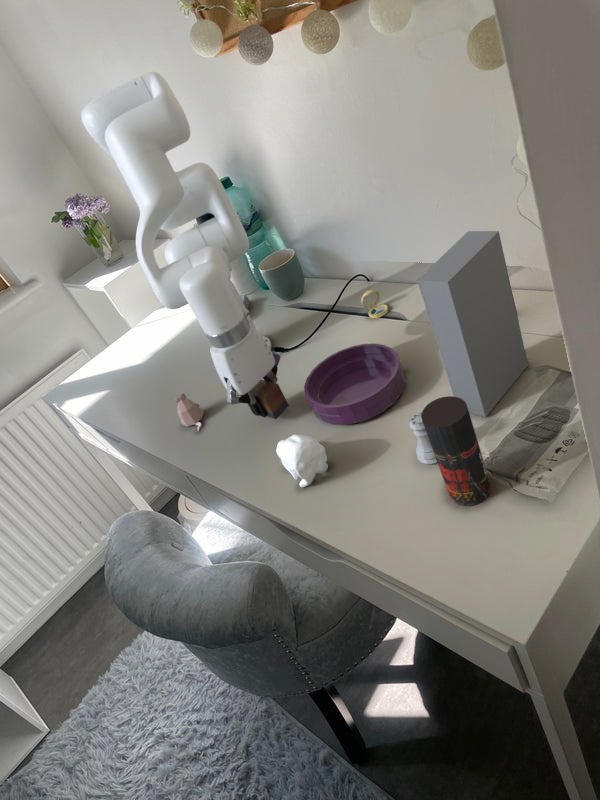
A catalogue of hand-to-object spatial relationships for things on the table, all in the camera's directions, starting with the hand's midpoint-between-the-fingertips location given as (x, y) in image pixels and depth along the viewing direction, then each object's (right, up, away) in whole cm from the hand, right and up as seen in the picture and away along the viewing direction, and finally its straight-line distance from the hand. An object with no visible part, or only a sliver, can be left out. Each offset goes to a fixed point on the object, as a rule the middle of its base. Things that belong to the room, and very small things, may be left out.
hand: (269, 406), depth 118 cm
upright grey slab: (+38, +3, -16) cm, 41 cm away
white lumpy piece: (+7, -11, -14) cm, 19 cm away
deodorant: (+30, -12, -31) cm, 45 cm away
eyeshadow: (+23, +20, +18) cm, 36 cm away
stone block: (-12, +23, +45) cm, 52 cm away
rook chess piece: (+26, -8, -23) cm, 36 cm away
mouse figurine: (-16, -4, +11) cm, 20 cm away
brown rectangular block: (0, 0, 0) cm, 1 cm away
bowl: (+17, +2, -4) cm, 18 cm away
